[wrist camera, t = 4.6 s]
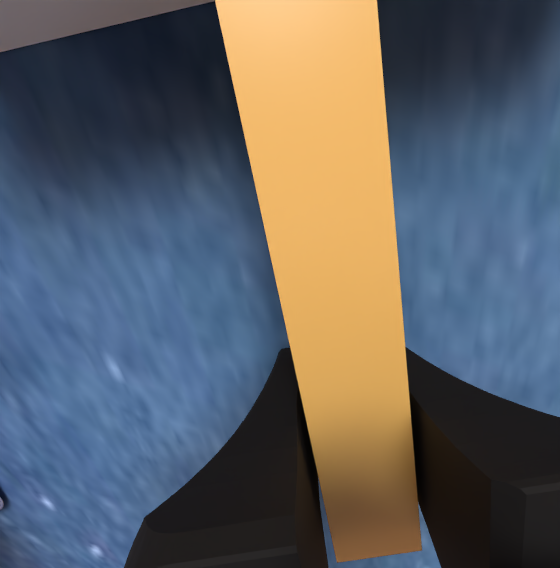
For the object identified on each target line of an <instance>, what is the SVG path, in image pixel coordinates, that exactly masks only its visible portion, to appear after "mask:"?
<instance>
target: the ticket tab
mask: <svg viewBox="0 0 560 568" xmlns="http://www.w3.org/2000/svg"><path fill="white" fill-rule="evenodd" d="M215 3H216V7H217V12H218V16H219V21H220V26H221V30H222V35H223V39H224V44H225V49H226V53H227V58H228V62H229V67H230V72H231V76H232V81H233V86H234V90H235V95H236V99H237V104H238V109H239V113H240V118H241V122H242V127H243V132H244V136H245V141H246V145H247V150H248V155H249V159H250V164H251V169H252V173H253V178H254V182H255V187H256V192H257V196H258V201H259V205H260V210H261V215H262V219H263V224H264V228H265V233H266V238H267V242H268V247H269V251H270V256H271V261H272V265H273V270H274V275H275V279H276V284H277V288H278V293H279V298H280V302H281V307H282V311H283V316H284V321H285V325H286V330H287V334H288V339H289V344H290V348H291V353H292V358H293V362H294V367H295V371H296V376H297V381H298V385H299V390H300V394H301V399H302V404H303V408H304V413H305V417H306V422H307V427H308V431H309V436H310V440H311V445H312V450H313V454H314V459H315V464H316V468H317V473H318V477H319V482H320V487H321V491H322V496H323V500H324V505H325V510H326V514H327V519H328V523H329V528H330V533H331V537H332V542H333V546H334V551H335V556H336V560H337V563H338V562H345V561H352V560H359V559H366V558H373V557H380V556H387V555H394V554H401V553H408V552H414V551H421V550H422V546H421V534H420V522H419V509H418V497H417V485H416V473H415V460H414V448H413V436H412V424H411V411H410V399H409V387H408V375H407V363H406V350H405V338H404V326H403V314H402V301H401V289H400V277H399V265H398V252H397V240H396V228H395V216H394V203H393V191H392V179H391V167H390V155H389V142H388V130H387V118H386V106H385V93H384V81H383V69H382V57H381V44H380V32H379V20H378V8H377V0H215Z"/></svg>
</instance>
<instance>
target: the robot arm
mask: <svg viewBox="0 0 560 568" xmlns="http://www.w3.org/2000/svg"><path fill="white" fill-rule="evenodd" d="M405 350H406V363H407V375H408V387H409V399H410V411H411V424H412V436H413V448H414V460H415V473H416V485H417V497H418V503H419V505H420V508H421V511H422V514H423V517H424V519H425V522H426V525H427V528H428V530H429V533H430V536H431V539H432V542H433V545H434V548H435V551H436V553H437V556H438V559H439V562H440V565H441V568H560V417H557V416H553V415H550V414H546V413H543V412H540V411H537V410H534V409H531V408H528V407H525V406H522V405H519V404H517V403H514V402H511V401H509V400H506V399H503V398H500V397H498V396H495V395H493V394H491V393H488V392H486V391H483V390H481V389H479V388H477V387H475V386H473V385H470V384H468V383H466V382H464V381H462V380H460V379H458V378H456V377H454V376H452V375H450V374H448V373H447V372H445V371H443V370H441V369H439V368H438V367H436V366H434V365H433V364H431V363H429V362H428V361H426V360H424V359H423V358H421V357H420V356H418V355H417V354H415V353H414V352H412V351H411V350H409V349H408V348H406V347H405ZM2 507H3V501H2V499H1V497H0V510H1V509H2ZM124 568H328V561H327V554H326V547H325V540H324V532H323V525H322V518H321V511H320V500H319V486H318V473H317V468H316V464H315V459H314V454H313V450H312V445H311V440H310V436H309V431H308V427H307V422H306V417H305V413H304V408H303V404H302V399H301V394H300V390H299V385H298V381H297V376H296V371H295V367H294V362H293V358H292V353H291V348H285V349H281V350H280V352H279V353H278V356H277V359H276V362H275V364H274V367H273V369H272V371H271V374H270V376H269V378H268V380H267V382H266V384H265V386H264V388H263V390H262V391H261V393H260V395H259V397H258V398H257V400H256V402H255V403H254V405H253V407H252V409H251V410H250V412H249V413H248V415H247V416H246V418H245V419H244V421H243V422H242V423H241V425H240V426H239V428H238V429H237V430H236V432H235V433H234V434H233V435H232V437H231V438H230V439H229V440H228V442H227V443H226V444H225V445H224V446H223V447H222V448H221V450H220V451H219V452H218V453H217V454H216V455H215V456H214V457H213V458H212V459H211V460H210V461H209V462H208V463H207V464H206V465H205V466H204V467H203V468H202V469H201V470H200V471H199V472H198V473H197V474H196V475H195V476H194V477H193V478H192V479H191V480H190V481H189V482H188V483H186V484H185V485H184V486H183V487H182V488H181V489H180V490H178V491H177V492H176V493H175V494H173V495H172V496H171V497H170V498H168V499H167V500H166V501H165V502H163V503H162V504H161V505H160V506H159V507H157V508H156V509H155V510H154V511H152V512H151V513H150V514H148V515H147V516H146V517H145V518H144V520H143V522H142V525H141V527H140V529H139V531H138V533H137V535H136V538H135V540H134V542H133V545H132V547H131V550H130V552H129V555H128V558H127V561H126V564H125V566H124Z"/></svg>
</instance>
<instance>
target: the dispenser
mask: <svg viewBox="0 0 560 568" xmlns="http://www.w3.org/2000/svg"><path fill="white" fill-rule="evenodd" d="M213 1H215V0H0V52H3V51H7V50H11V49H16V48H20V47H24V46H28V45H32V44H37V43H41V42H45V41H49V40H53V39H58V38H62V37H66V36H70V35H74V34H79V33H83V32H87V31H91V30H95V29H100V28H104V27H108V26H112V25H116V24H120V23H125V22H129V21H133V20H137V19H141V18H146V17H150V16H154V15H158V14H162V13H167V12H171V11H175V10H179V9H183V8H188V7H192V6H196V5H200V4H204V3H209V2H213Z"/></svg>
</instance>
